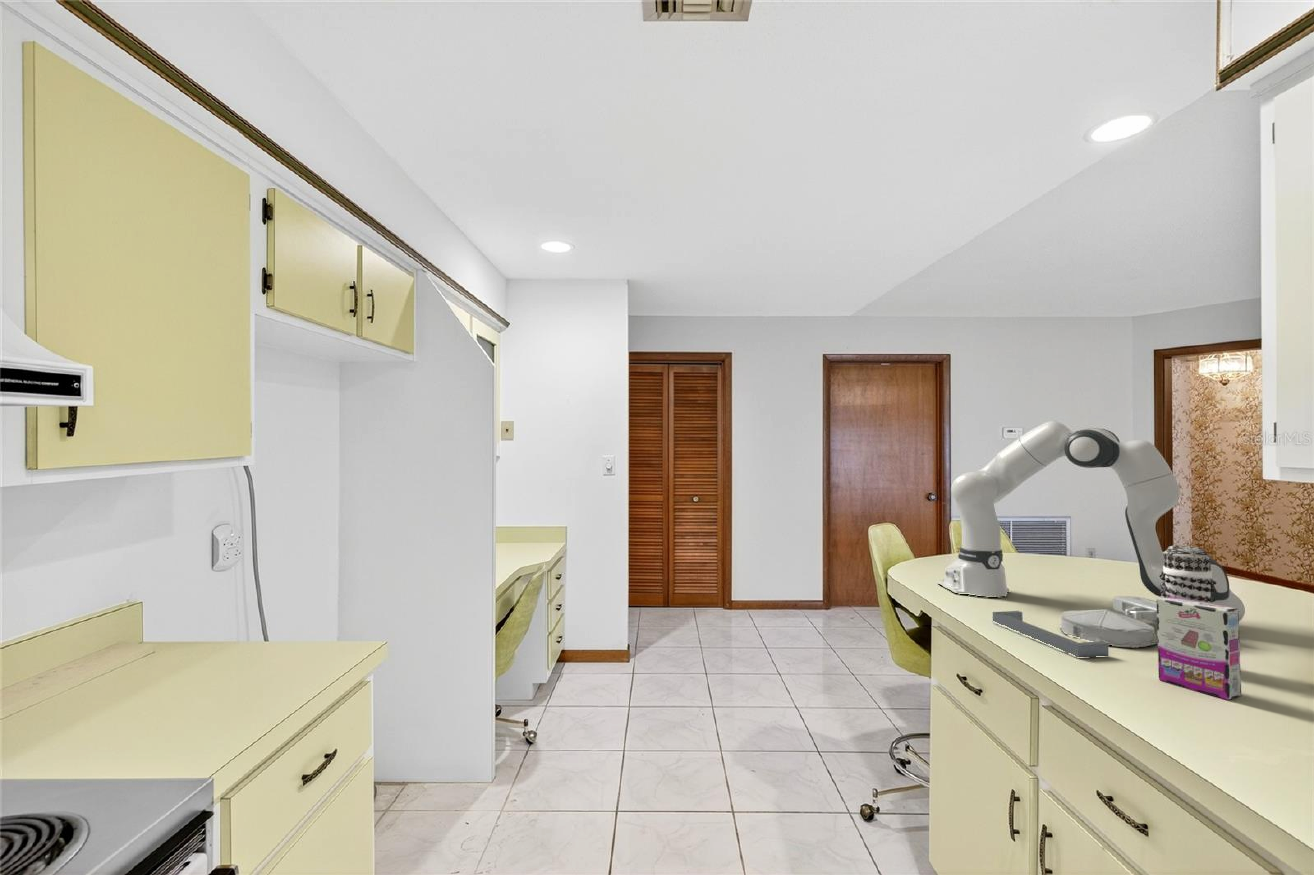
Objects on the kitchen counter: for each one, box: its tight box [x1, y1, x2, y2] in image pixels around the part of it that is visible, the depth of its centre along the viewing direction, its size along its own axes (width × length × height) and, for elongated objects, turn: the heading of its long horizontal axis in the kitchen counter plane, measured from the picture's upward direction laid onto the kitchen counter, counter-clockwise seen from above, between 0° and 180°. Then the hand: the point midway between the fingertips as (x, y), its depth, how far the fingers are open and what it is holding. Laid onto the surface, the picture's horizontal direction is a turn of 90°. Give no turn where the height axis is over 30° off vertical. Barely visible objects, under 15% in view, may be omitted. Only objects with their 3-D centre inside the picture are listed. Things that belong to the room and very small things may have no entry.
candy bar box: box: [1156, 597, 1242, 701], centre depth 115 cm, size 11×5×16 cm, turn 25°
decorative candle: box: [1159, 545, 1217, 604], centre depth 127 cm, size 9×9×25 cm
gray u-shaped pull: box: [992, 610, 1110, 657], centre depth 145 cm, size 27×8×3 cm, turn 8°
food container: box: [1059, 609, 1158, 649], centre depth 147 cm, size 20×20×7 cm
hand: (1130, 614), depth 148 cm, fingers closed
